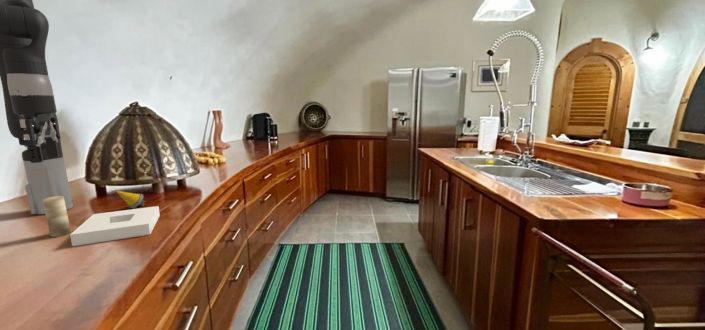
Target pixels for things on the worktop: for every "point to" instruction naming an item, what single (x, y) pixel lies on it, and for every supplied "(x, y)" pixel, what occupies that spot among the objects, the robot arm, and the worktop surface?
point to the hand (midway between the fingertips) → (45, 159)
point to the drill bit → (132, 199)
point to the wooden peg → (56, 216)
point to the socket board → (116, 226)
